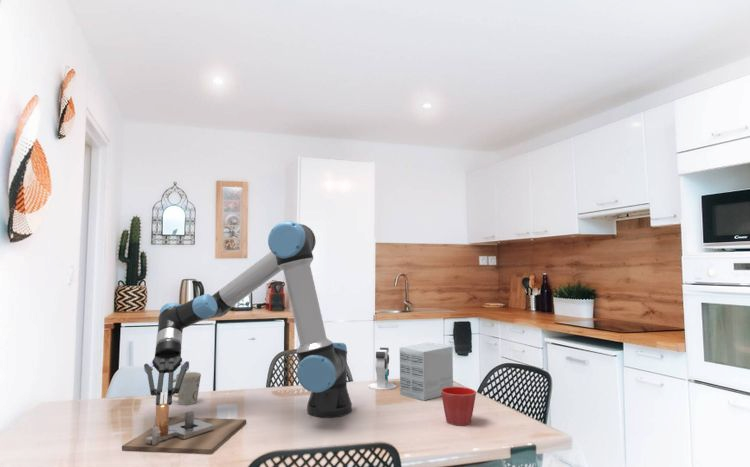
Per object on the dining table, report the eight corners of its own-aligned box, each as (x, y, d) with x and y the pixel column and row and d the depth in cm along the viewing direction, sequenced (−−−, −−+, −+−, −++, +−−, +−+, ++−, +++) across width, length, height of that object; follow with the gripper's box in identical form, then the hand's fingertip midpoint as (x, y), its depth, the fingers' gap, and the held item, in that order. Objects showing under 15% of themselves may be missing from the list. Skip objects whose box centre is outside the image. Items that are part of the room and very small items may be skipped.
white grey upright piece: (393, 391, 191) (393, 352, 192) (365, 389, 193) (365, 351, 194) (397, 383, 203) (397, 347, 204) (371, 382, 205) (371, 346, 206)
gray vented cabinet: (428, 386, 198) (427, 342, 200) (454, 393, 189) (453, 346, 190) (398, 394, 187) (398, 346, 188) (424, 401, 177) (424, 351, 178)
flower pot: (454, 414, 161) (454, 384, 162) (482, 421, 154) (482, 390, 154) (434, 421, 154) (434, 390, 155) (463, 429, 146) (462, 396, 147)
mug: (191, 406, 170) (192, 377, 171) (159, 404, 173) (160, 376, 173) (204, 400, 178) (205, 372, 179) (174, 398, 181) (174, 371, 182)
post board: (246, 423, 152) (246, 401, 153) (211, 454, 127) (212, 428, 128) (170, 420, 155) (170, 399, 155) (121, 450, 130) (122, 425, 130)
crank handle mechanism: (194, 422, 148) (194, 392, 149) (214, 429, 142) (215, 397, 143) (137, 439, 134) (139, 405, 134) (157, 447, 128) (159, 411, 129)
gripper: (191, 351, 159) (188, 419, 142) (146, 354, 154) (137, 424, 137) (191, 337, 154) (187, 406, 137) (144, 339, 149) (135, 410, 133)
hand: (162, 415), depth 137 cm, fingers closed
